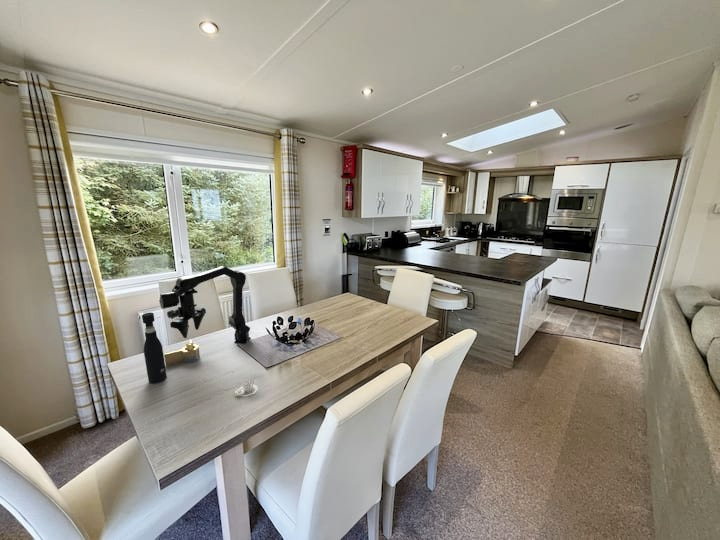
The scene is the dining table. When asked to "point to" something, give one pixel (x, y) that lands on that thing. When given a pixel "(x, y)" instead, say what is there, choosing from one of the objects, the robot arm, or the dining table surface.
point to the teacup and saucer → (246, 388)
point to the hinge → (182, 355)
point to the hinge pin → (189, 346)
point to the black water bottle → (153, 352)
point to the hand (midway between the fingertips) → (191, 333)
